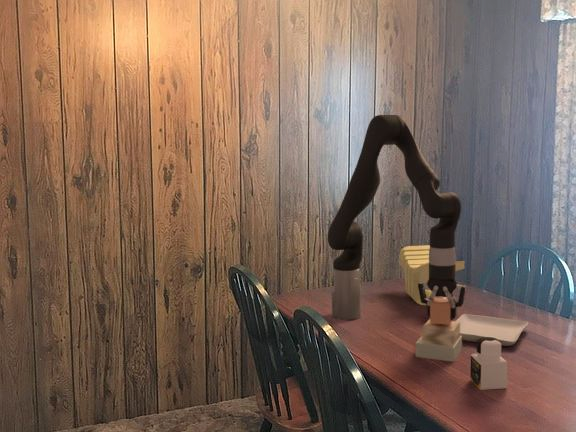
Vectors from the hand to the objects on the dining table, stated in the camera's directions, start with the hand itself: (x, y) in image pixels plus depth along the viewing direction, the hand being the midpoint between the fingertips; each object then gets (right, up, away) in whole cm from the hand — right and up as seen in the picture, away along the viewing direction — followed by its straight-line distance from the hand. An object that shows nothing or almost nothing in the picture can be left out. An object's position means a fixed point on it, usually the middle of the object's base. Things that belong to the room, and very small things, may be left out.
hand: (441, 318), depth 193 cm
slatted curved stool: (+9, -2, +57) cm, 57 cm away
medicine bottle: (+7, -14, -22) cm, 27 cm away
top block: (0, -6, 0) cm, 6 cm away
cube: (0, -1, 0) cm, 1 cm away
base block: (-1, -11, +1) cm, 11 cm away
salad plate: (+18, -8, +15) cm, 25 cm away
